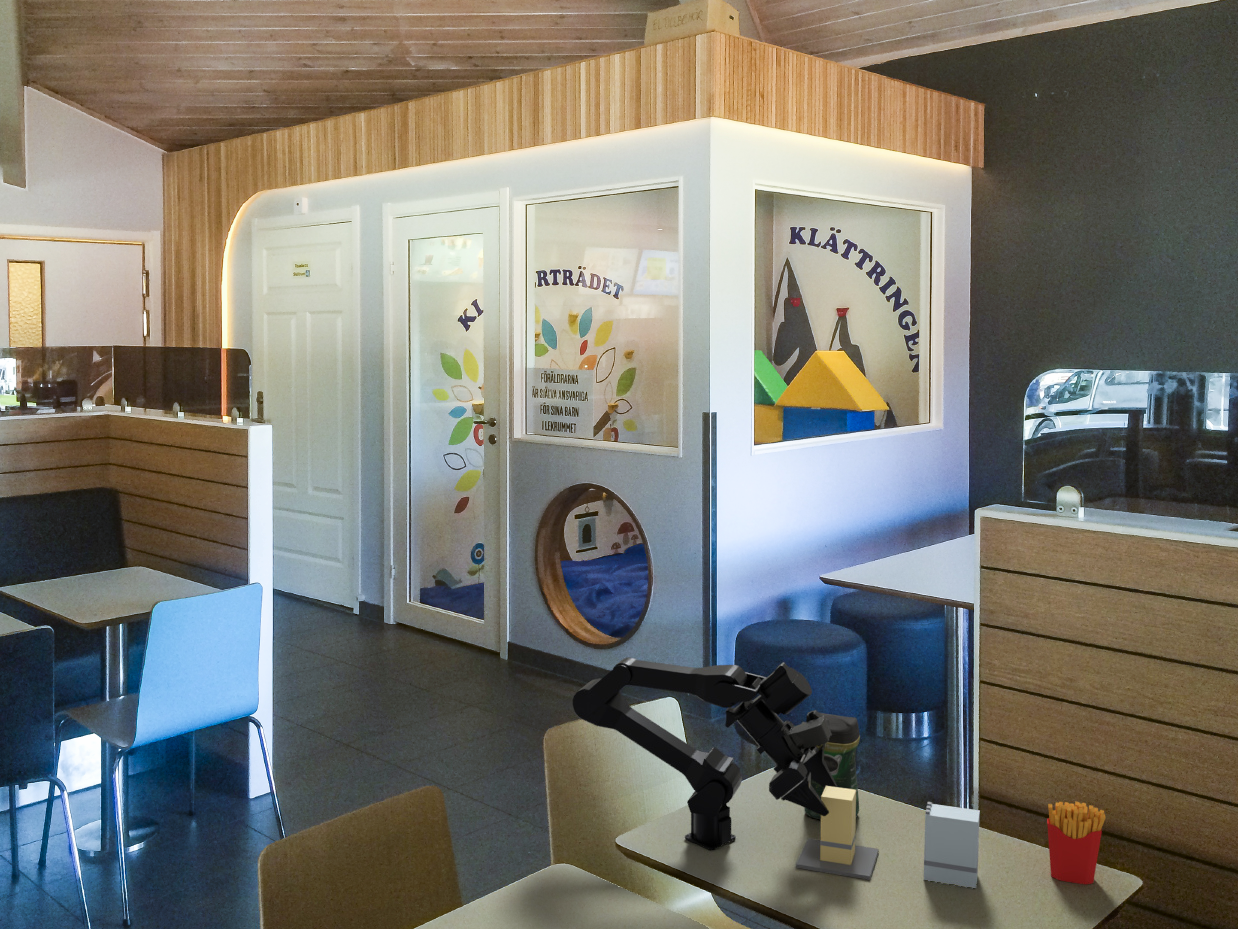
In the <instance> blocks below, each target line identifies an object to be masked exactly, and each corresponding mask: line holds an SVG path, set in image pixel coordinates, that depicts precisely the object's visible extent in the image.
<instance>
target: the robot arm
mask: <svg viewBox="0 0 1238 929" xmlns="http://www.w3.org/2000/svg"><path fill="white" fill-rule="evenodd" d="M625 686H634V687H642V688H648V689H655V690H661V691H668V692H675V693H681V694H689V695H691V696H694V697H697V698H698V699H700V700H701V701H703V702H704V703H707V704H711V705H714V706H717V707H721V708H726V710H725V728H730V727H731V726H732V725H734V724H735V723H736V722H738V724H739V725H740V726H741V727H742V728H743V729H744V730H745V732H747V734H748V735H749V736H750V737H751V739H752V740H753V741H755V743H756V745H758V747H757V748H756V751H757V752H758V753H759V755H762V754H763V753H765V754H766V756H767V758H768V759H770V760H771V762H772V763H773V764H774V767H773V770H774V771H775V774H774V775H773V776H772V778H771V780H770V781H769V784H768V791H769V793H770V794H771V796H772V797H773V798H774V799H775V800H777V801H778V800H782V801H787V802H790V803H793V804H794V805H797V806H801V807H803V808H804V807H805V808H807V809H809V810H811V811H813V812H815V813H818V814H820V815H822V816H826V815H827V814H829V811H828V809H827V807H826V806H825V804H824V803H823V801H822V800H821V798H820V797H819V796H818V794H817V793H816V791H815V790H814V788H813V787H812V785H811V779H812V780H813V781H815V782H816V783H818V784H819V785H821V786H822V787H824V788H825V787H826V786H831V787H837V785H836V783H835V781H834V779H833V777H832V775H831V773H830V771H829V769H828V767H827V765H826V762H825V760H824V749H825V743H827V742H828V741H829V737H830V736H832V733H831V731H830V729H829V726H828V723H829V720H828V719H826V718H825V716H824V715H823V716H822V715H821V714H820V713H821V712H819V711H818V710H815V709H814V710H811V711H809V712H807V715H806V720H805V721H801V723H800V724H798V725H794V723H792V721H790V720H788V719H787V720H785V721H783V720H782V719H781V718H780V716H778V715H780V714H781V715H788V714H790V712H792V711H793V710H795V708H796V707H797V706H799V705H800V704H802V703H803V701H805V700H806V699H808V697H810V696H811V695H812V693H813V691H812V688H811V685H810V683H809V681H808V680H807V678H806V677H805V676H804V674H802V673H801V672H799V671H797V670H796V669H794V668H793V667H790V666H788V665H787V664H786V662H782V663H781V664H779V665H778V666H777V667H776V668H775V670H774V671H773V672H771V674H770V675H768V676H762V675H758V674H754V673H751V672H750V673H749V672H746V671H745V670H744V669H743V667H741V666H739V665H737V664H720V665H719V664H716V665H715V664H714V665H710V666H703V667H692V666H691V667H690V666H684V665H676V664H670V663H661V662H656V661H648V660H641V659H636V658H633V657H624V658H622V659H621V660H619V662H617V663H616V664H615V665H614V666H613V668H612V669H611V671H609V672H608V673H607V674H606V675H604V676H603V677H602V678H595V679H591V681H589V682H588V683H586V684H585V685H584V686H583V687H582V688H580V689H579V690H577V691H576V693H575V694H574V695H573V697H572V698H573V699H572V708H573V713H574V714H575V715H576V716H577V717H578V718H579V719H581V720H583V721H585V722H587V723H589V724H591V725H594V726H596V727H599V728H605V729H610V730H614V731H616V732H618V733H620V734H621V735H623V736H624V737H626V738H627V739H629V740H630V741H632V742H633V743H635V744H636V745H637V746H639V747H641V748H642V749H643V750H645V751H647V752H649V753H650V754H652V755H653V756H655V757H656V758H657V759H660V760H661V761H662V762H664V763H665V764H667V765H668V766H670V767H672V768H673V769H674V770H675V771H678V772H679V773H681V774H682V775H683V776H684V777H685V779H686V780H687V781H688V783H689V785H690V786H691V787H692V789H693V790H694V792H692V794H691V795H690V797H689V798H688V799H687V801H686V802H687V806H688V808H689V811H690V832H689V833H687V834H685V835H684V840H687V841H689V842H691V843H694V844H695V845H698V846H700V847H703V848H704V849H706V850H710V851H714V850H717V849H719V848H721V847H722V846H725V845H727V844H728V843H730V842H732V841H734V840H736V839H737V836H736V835H735V834H734V833H732V817H731V808H730V806H728V804H729V803H730V801H731V800H732V799H733V798H734V796H735V794H736V792H737V791H738V789H739V788H740V786H741V784H742V781H743V775H742V771H741V767H739V766H738V765H737V763H735V762H734V760H735V758H734V757H730V756H728V755H726V754H724V753H723V752H722V751H721V750H720V749H718V748H717V747H715V746H714V747H711V749H710V750H709V752H704V751H701V750H698V749H696V748H694V747H693V746H691V745H689V744H688V743H687V742H685V741H683V740H682V739H680V738H679V737H677V736H676V735H674V734H673V733H671V732H670V731H668V730H666V729H665V728H663V727H662V726H660V725H659V724H657V723H655V722H654V721H653V720H651V719H650V718H648V717H646V716H645V715H643V714H642V713H640V712H639V711H637V710H635V709H634V708H632V707H631V706H630V705H629V703H628V701H627V700H626V698H625V697H624V695H623V694H622V693H621V692H620V691H621V690H622V689H624V687H625ZM758 694H759V695H758ZM757 695H758V696H757ZM756 696H757V697H756ZM755 697H756V698H755ZM738 703H740V704H739V705H737V706H736V707H734V706H735V705H736V704H738ZM821 745H822V746H821ZM817 746H821V747H819V748H818V747H817Z"/></svg>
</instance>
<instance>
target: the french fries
mask: <svg viewBox="0 0 1238 929" xmlns="http://www.w3.org/2000/svg"><path fill="white" fill-rule="evenodd" d="M1074 802H1075V803H1069V802H1067V801H1058V802H1055V809H1053V804H1052V803H1048V804H1047V805H1048V806H1047V807H1048V815H1049V817H1048V818H1046V819H1047V821H1046V822H1047V824H1046V825H1047V841H1048V853H1049V867H1050V877H1052V878H1054V879H1055V880H1058V881H1061V882H1066V883H1067V882H1068V883H1073V884H1080V885H1091V884H1094V880H1095V874H1096V869H1097V863H1098V857H1099V852H1100V845H1101V838H1102V834H1103V831H1102V830H1103V829H1102V828H1103V825H1104V822H1105V820H1106V819H1107V818H1106V814H1105V810H1103V809H1100V810H1099V808H1098V807H1094V805H1090V804H1089V806H1087V803H1086V802H1082V803H1081V802H1079V801H1074Z"/></svg>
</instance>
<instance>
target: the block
mask: <svg viewBox="0 0 1238 929" xmlns="http://www.w3.org/2000/svg"><path fill="white" fill-rule="evenodd" d="M821 800H822V801H823V803H824V804H825V806H826V807H827V809H828V811H829V814H827V815H826V816H822V815H821V819H820V839H819V840H820V845H821V846H820V860H822V861H829V862H835V863H841V864H848V865H851V863H852V860H853V857H854V854H855V845H856V826H857V825H856V818H857V817H856V790H854V789H846V788H839V787H831V786H826V787H825V789H824V791H823V794H822V796H821Z"/></svg>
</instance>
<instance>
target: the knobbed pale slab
mask: <svg viewBox="0 0 1238 929" xmlns="http://www.w3.org/2000/svg"><path fill="white" fill-rule="evenodd" d="M980 811H981V810H978V809H973V808H972V809H971V808H966V807H964V808H963V807H955V806H949V805H943V804H942V805H941V804H936V803H935V804H934V803H933V802H932V801H927V805H926V808H925V815H924V816H925V817H924V847H923V848H924V849H923V850H924V851H923V853H924V854H923V881H924V880H928V881H927V882H930V881H935V882H934V883H937V882H941V883H940V884H943V883H948V884H947V885H949V884H956V885H959V886H958V887H961V886H965V887H964V888H967V887H972V888H971V889H973V888H976V889H977V885H976V884H978V877H977V876H979V875H978V873H979V872H978V871H979V849H980V848H979V840H980V839H979V838H980V814H981V813H980Z"/></svg>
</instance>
